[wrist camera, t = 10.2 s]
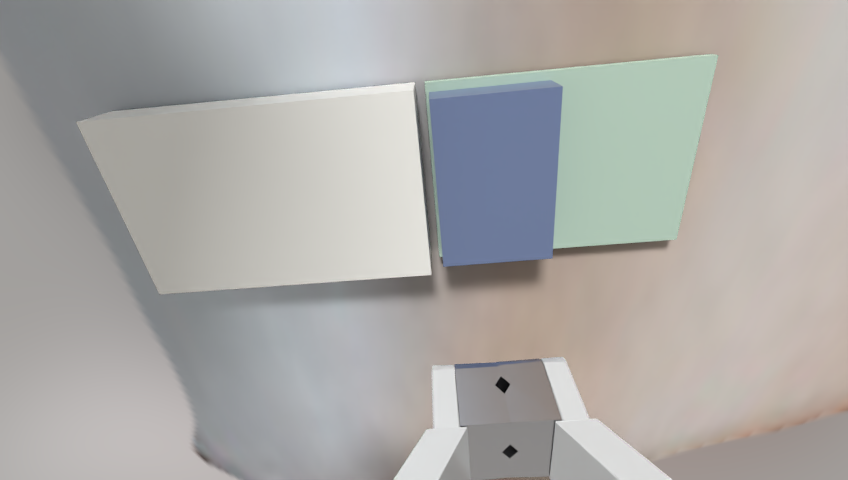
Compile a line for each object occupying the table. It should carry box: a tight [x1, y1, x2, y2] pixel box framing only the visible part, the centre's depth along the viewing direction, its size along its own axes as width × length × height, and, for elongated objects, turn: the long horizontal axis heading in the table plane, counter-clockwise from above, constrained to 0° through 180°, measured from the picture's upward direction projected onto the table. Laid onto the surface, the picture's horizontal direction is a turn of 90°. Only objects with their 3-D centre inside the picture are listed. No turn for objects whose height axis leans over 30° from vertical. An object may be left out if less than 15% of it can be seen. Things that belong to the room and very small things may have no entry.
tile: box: [429, 80, 563, 267], centre depth 22 cm, size 9×6×2 cm, turn 6°
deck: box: [76, 82, 431, 294], centre depth 23 cm, size 10×16×2 cm, turn 95°
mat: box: [425, 54, 718, 257], centre depth 23 cm, size 10×14×1 cm
